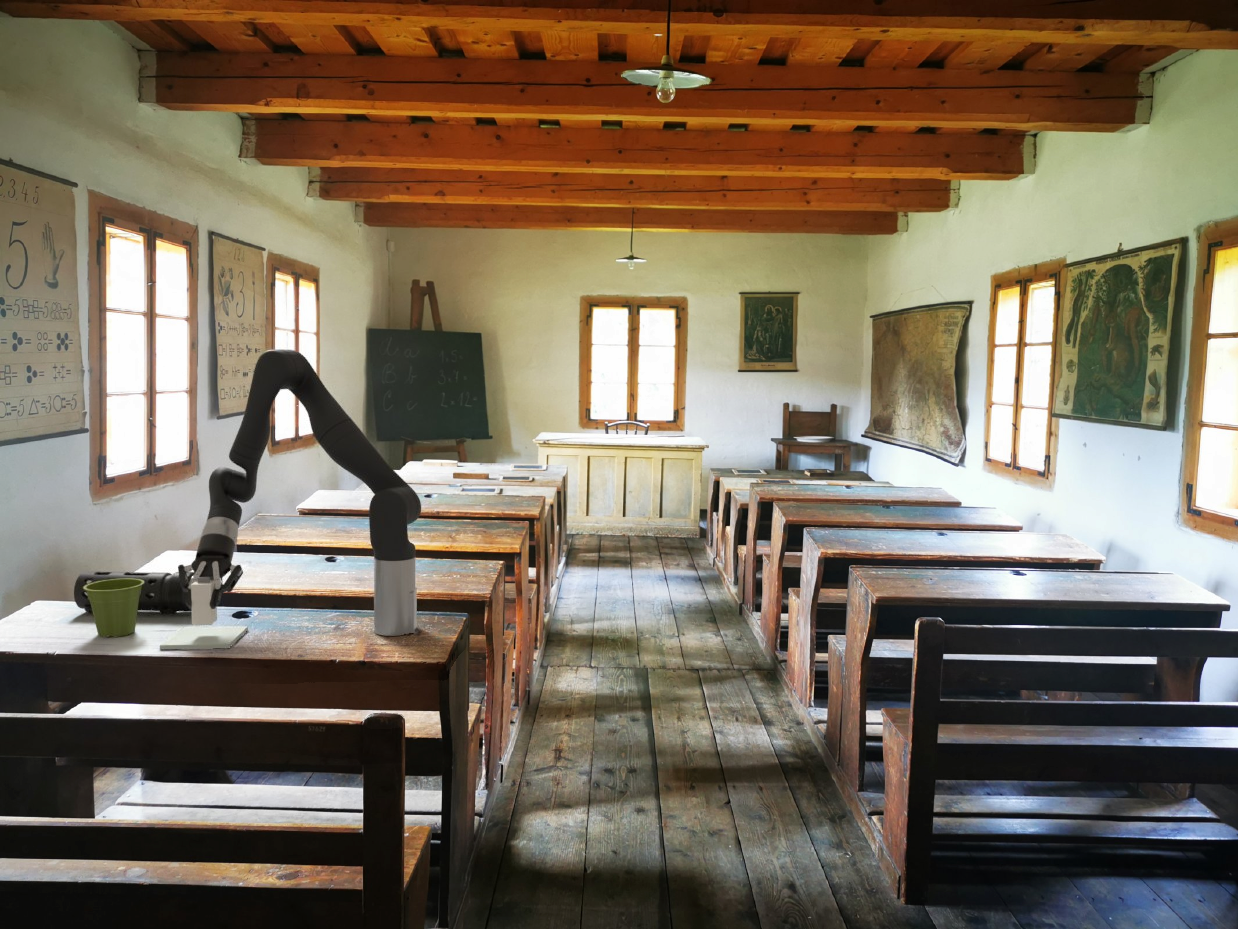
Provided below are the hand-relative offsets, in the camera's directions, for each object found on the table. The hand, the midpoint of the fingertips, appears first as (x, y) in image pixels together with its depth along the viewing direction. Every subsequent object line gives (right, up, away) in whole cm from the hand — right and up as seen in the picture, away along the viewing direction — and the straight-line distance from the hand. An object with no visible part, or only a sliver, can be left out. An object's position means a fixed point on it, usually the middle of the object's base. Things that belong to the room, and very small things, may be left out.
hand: (201, 606), depth 195 cm
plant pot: (-22, -7, +6) cm, 24 cm away
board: (0, -8, +3) cm, 8 cm away
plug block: (0, -4, +2) cm, 5 cm away
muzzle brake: (-25, -6, +24) cm, 35 cm away
